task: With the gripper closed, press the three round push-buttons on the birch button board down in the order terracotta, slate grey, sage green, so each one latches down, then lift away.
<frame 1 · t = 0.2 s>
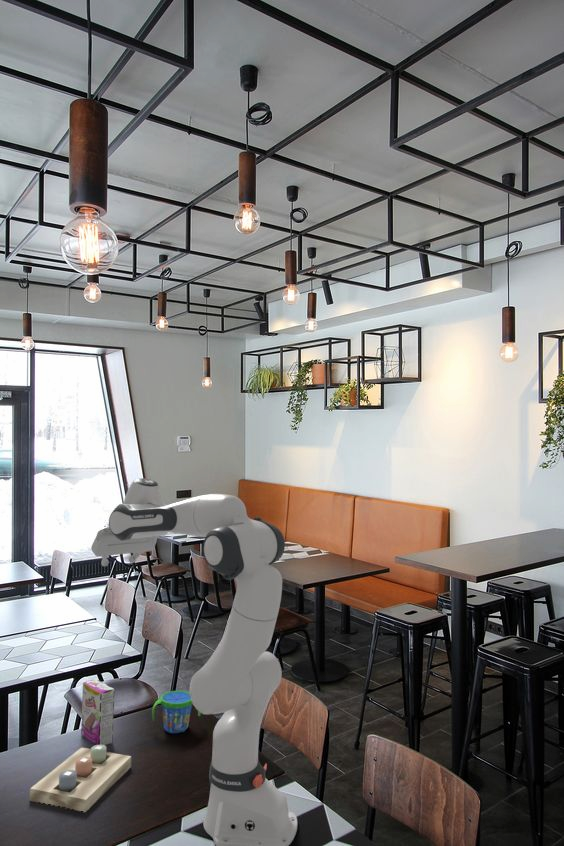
hand: (118, 563, 184), 54 cm above the table, tool tilted 30°, fingers open, 8 cm apart
slate button: (67, 781, 152), point 4 cm above the table, slide at 0.0 cm
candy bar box: (96, 740, 183), on the table
sage button: (98, 754, 166), point 4 cm above the table, slide at 0.0 cm
button board: (83, 783, 159), on the table
snack cup: (176, 729, 191), on the table
terracotta button: (83, 767, 159), point 4 cm above the table, slide at 0.0 cm
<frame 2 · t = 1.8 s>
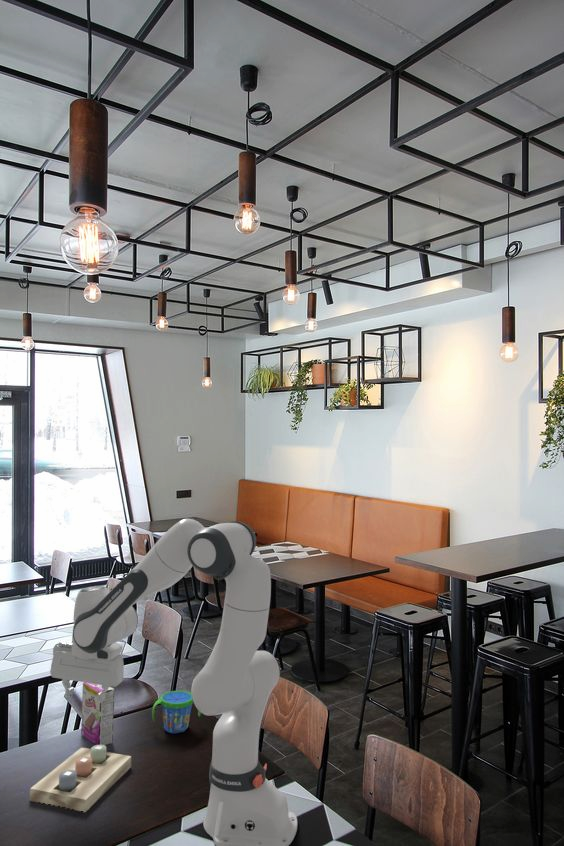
hand: (85, 697, 162), 22 cm above the table, tool pointing down, fingers open, 8 cm apart
nothing on the table moved.
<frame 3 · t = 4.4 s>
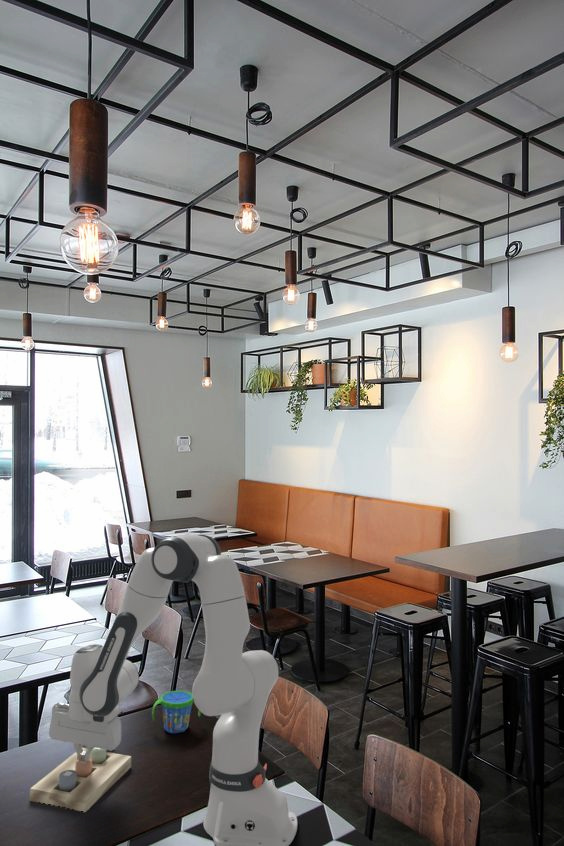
hand: (83, 759, 159), 6 cm above the table, tool pointing down, fingers closed, pressing on terracotta button
terracotta button: (83, 768, 159), point 4 cm above the table, slide at 0.2 cm, touching gripper
everything else where it was.
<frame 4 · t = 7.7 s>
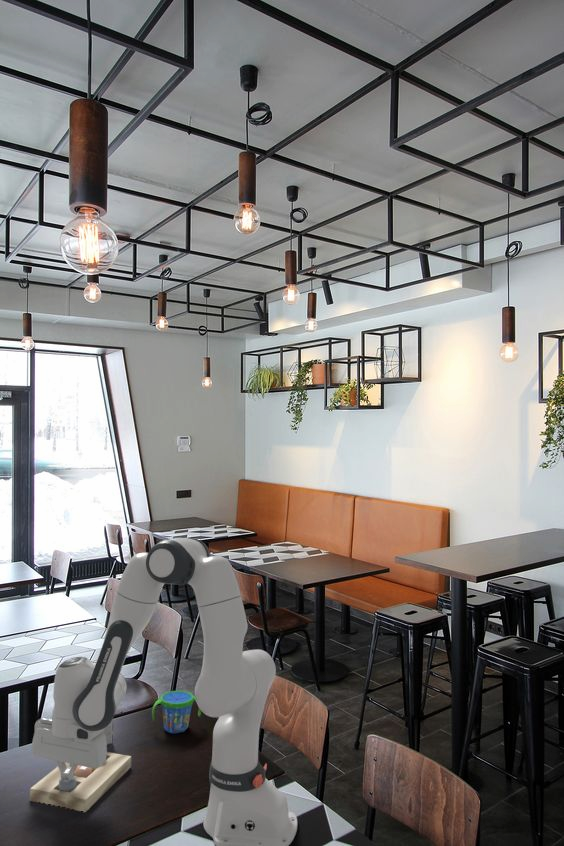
hand: (67, 778, 152), 5 cm above the table, tool pointing down, fingers closed, pressing on slate button
slate button: (67, 786, 152), point 3 cm above the table, slide at 1.4 cm, touching gripper
terracotta button: (83, 774, 159), point 2 cm above the table, slide at 2.0 cm
everything else where it was.
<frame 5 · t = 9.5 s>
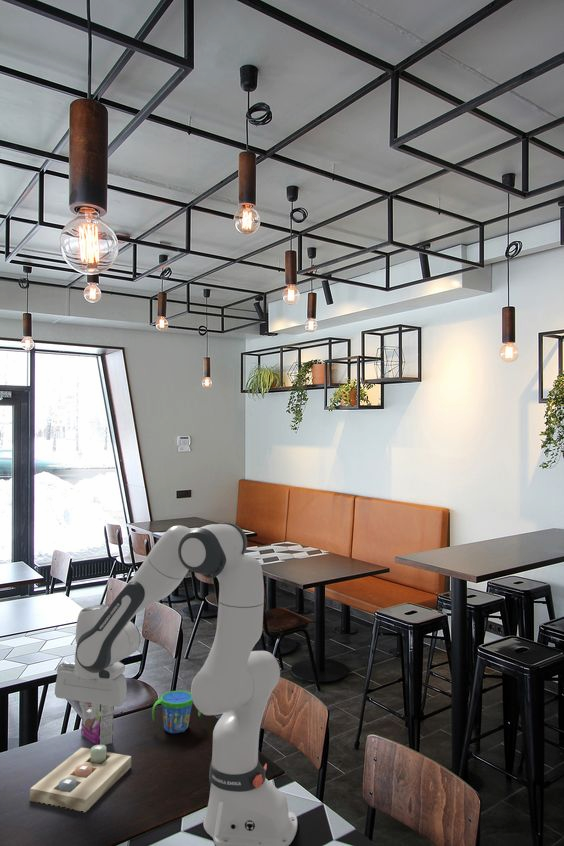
hand: (89, 717, 161), 16 cm above the table, tool pointing down, fingers closed
slate button: (67, 789, 152), point 2 cm above the table, slide at 2.0 cm
everything else where it was.
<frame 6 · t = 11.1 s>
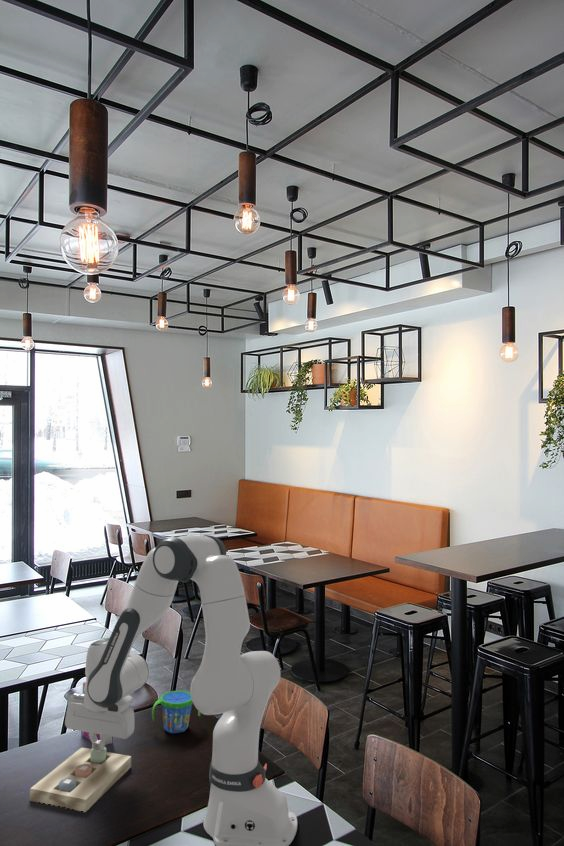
hand: (98, 748, 166), 6 cm above the table, tool pointing down, fingers closed
sage button: (98, 756, 166), point 4 cm above the table, slide at 0.4 cm, touching gripper
everything else where it was.
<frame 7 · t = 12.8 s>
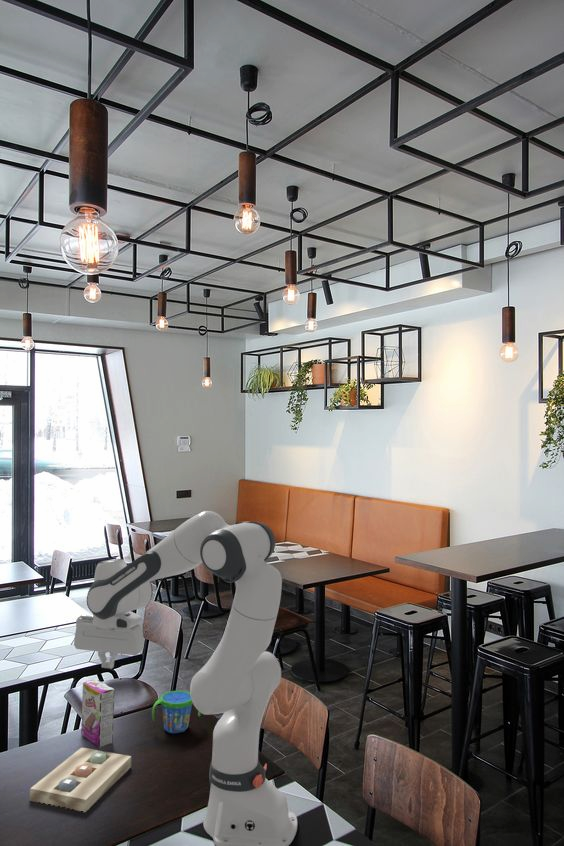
hand: (107, 667, 166), 28 cm above the table, tool pointing down, fingers closed
sage button: (98, 761, 166), point 2 cm above the table, slide at 2.0 cm
everything else where it was.
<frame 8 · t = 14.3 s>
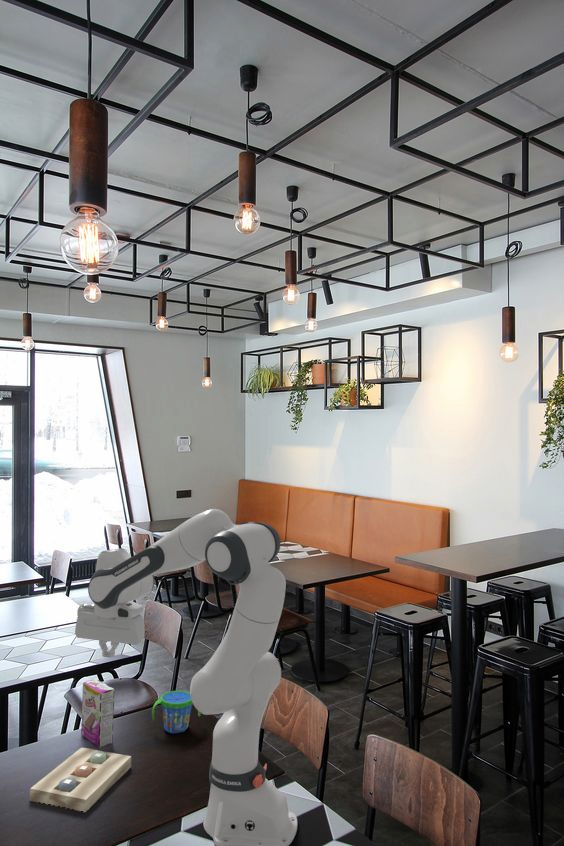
hand: (108, 656, 166), 31 cm above the table, tool pointing down, fingers closed
nothing on the table moved.
at the end: terracotta button slide at 2.0 cm; slate button slide at 2.0 cm; sage button slide at 2.0 cm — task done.
